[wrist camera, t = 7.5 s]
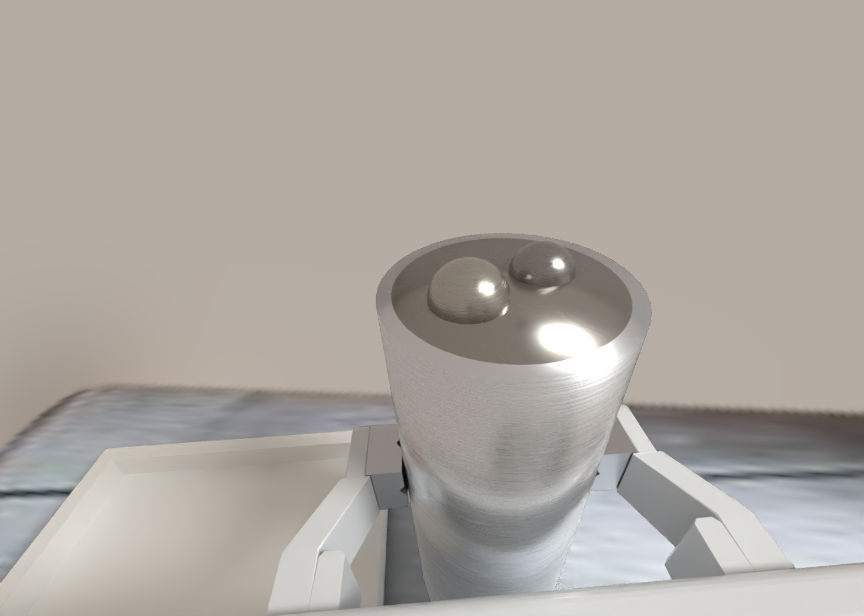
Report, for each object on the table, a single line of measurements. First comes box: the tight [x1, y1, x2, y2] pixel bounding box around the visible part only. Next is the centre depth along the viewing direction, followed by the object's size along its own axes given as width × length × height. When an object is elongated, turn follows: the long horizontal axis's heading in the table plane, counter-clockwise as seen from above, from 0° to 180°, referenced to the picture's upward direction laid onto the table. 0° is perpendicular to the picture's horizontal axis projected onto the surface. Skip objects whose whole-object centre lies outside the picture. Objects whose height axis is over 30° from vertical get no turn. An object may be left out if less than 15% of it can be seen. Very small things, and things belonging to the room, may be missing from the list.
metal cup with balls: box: [376, 233, 652, 601], centre depth 11 cm, size 5×5×14 cm
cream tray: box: [0, 430, 388, 616], centre depth 16 cm, size 16×14×2 cm
